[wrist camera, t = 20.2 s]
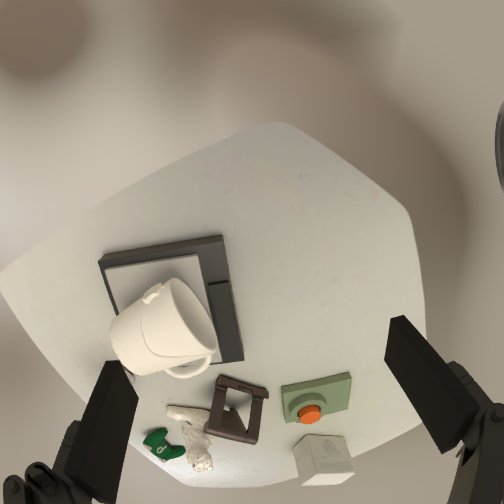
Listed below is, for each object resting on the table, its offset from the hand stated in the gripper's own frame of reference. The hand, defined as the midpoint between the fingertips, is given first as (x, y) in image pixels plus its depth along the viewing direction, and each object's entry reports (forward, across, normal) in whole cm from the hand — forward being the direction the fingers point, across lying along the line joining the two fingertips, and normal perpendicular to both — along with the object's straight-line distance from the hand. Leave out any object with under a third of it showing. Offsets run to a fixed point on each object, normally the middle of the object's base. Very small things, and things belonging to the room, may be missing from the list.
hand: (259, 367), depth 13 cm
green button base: (+25, +9, -33) cm, 42 cm away
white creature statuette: (+25, -13, -34) cm, 44 cm away
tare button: (+22, +7, -33) cm, 40 cm away
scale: (+25, -10, -10) cm, 28 cm away
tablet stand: (+25, -5, -29) cm, 39 cm away
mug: (+22, -10, -10) cm, 26 cm away
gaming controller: (+25, -22, -42) cm, 54 cm away
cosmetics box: (+25, +10, -51) cm, 58 cm away
